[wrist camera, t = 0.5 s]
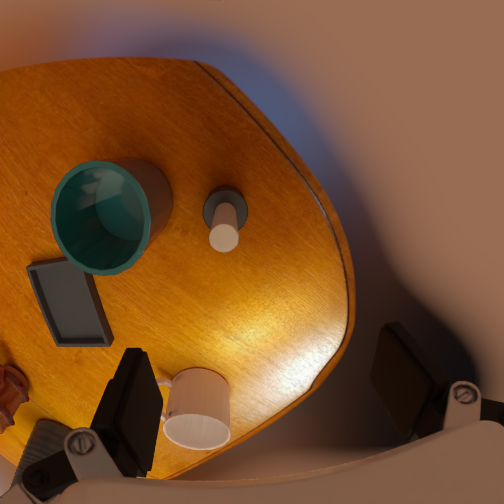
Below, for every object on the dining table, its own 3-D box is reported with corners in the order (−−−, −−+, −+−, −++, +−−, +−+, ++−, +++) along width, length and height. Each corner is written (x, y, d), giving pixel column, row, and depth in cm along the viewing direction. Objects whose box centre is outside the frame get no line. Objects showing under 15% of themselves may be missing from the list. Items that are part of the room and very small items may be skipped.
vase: (85, 430, 45) (49, 548, 15) (101, 464, 50) (79, 562, 20) (27, 409, 43) (-20, 507, 13) (49, 445, 48) (17, 532, 18)
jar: (87, 168, 30) (41, 176, 20) (166, 150, 30) (140, 148, 21) (103, 248, 33) (66, 280, 23) (179, 237, 33) (161, 269, 24)
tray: (32, 262, 33) (25, 267, 31) (86, 253, 33) (79, 258, 31) (62, 339, 37) (56, 346, 35) (114, 338, 37) (110, 346, 35)
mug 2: (241, 386, 42) (244, 432, 33) (205, 412, 43) (203, 455, 34) (177, 346, 38) (168, 392, 29) (145, 377, 40) (132, 421, 31)
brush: (203, 187, 32) (186, 210, 19) (243, 182, 32) (253, 201, 19) (209, 225, 33) (196, 272, 20) (247, 220, 33) (259, 264, 20)
